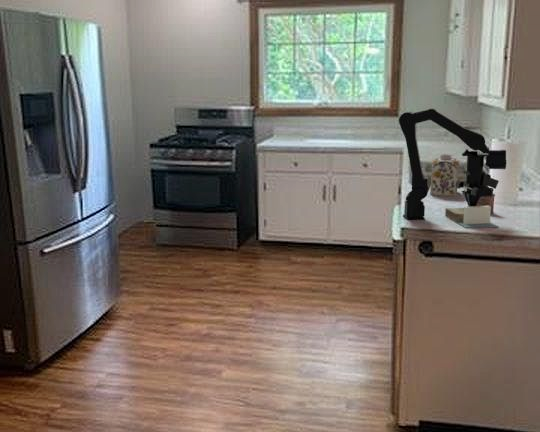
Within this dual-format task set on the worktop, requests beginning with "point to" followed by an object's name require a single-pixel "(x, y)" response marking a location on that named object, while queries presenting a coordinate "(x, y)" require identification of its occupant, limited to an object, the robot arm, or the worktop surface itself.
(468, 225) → the mat
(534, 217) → the worktop surface
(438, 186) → the decorative jar
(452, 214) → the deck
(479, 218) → the rectangular block
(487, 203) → the lighter
